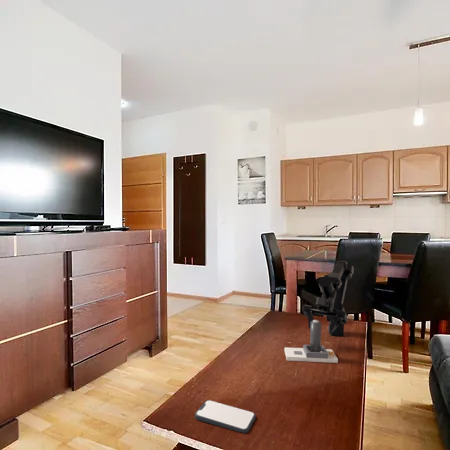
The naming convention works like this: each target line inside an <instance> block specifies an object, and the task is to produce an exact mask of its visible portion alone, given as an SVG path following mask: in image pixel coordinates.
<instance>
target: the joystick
mask: <svg viewBox="0 0 450 450" xmlns="http://www.w3.org/2000/svg"><path fill="white" fill-rule="evenodd" d="M309 330H310V331H309V333H310V336H309V338H310V339H309V345H310V352H321V345H322V322H321V321H319V320H318V319H313V321H311V326H310V329H309Z"/></svg>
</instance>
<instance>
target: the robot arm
mask: <svg viewBox="0 0 450 450" xmlns="http://www.w3.org/2000/svg"><path fill="white" fill-rule="evenodd" d="M354 272H355V269H354V266H353V265H352V264H350V263H348V262H347V261H345V260H337V261H336V262H335V266H334V267H333V269H332V270H331V272H330V273H328V274H324V276H322V277H320V278H319V280H317V281H318V282H317V284H318V286H319V288H320V292H321V293H322V295H321V297H319V296H318V297H316V301H315V305H316V308H317V309H314V307H313V305H310V304H309V305H308V304H304V305H303V306H302V309H301V311H302V312H303V315H304V316H306V318H307V321H308V329H309V330H310V326H311V321H313V320H315V319H314V316H315V315H319V316H325V317H326V322H329V323H328V328H327V330H328V331H327V332H328V334H329V335H330V336H331V337H345V336H346V335H345V334H344V333H345V330H344V329H345V325H347V324H348V314H347V312H346V311H345V308H344V305H343V304H344V300H345V295H346V290H347V285H348V281H349V280H351V279H352V278H353V275H354Z"/></svg>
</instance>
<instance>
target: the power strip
mask: <svg viewBox="0 0 450 450" xmlns="http://www.w3.org/2000/svg"><path fill="white" fill-rule="evenodd" d="M284 354H285V359H286V361H287V362H288V361H289V362H290V361H291V362H309V363H312V362H314V363H328V364H329V363H331V364H332V363H334V364H338V362H339V358H338V357H337V356H336V354H335V353H334V350H333V349H329V348H327V349H326V348H325V346H324V345H322V344H321V352H310V344H303V345H302V347H284Z"/></svg>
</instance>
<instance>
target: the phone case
mask: <svg viewBox="0 0 450 450" xmlns="http://www.w3.org/2000/svg"><path fill="white" fill-rule="evenodd" d="M256 416H257V415H256V413H255V412H253V411H251V410H250V411H249V410H247V409H244V408H243V409H242V408H239V407H235V406H232V405H229V404H224V403H222V402H217V401H215V400H212V399H211V400H210V399H208V400H205V401H204V402H203V404H202V405H201V406H200V407H199V408H198V410H196V412H195V413H194V418H195V420H196V421H200V422H203V423H206V424H210V425H214V426H217V427H220V428H223V429H226V430H227V429H228V430H231V431H233V430H234V432H238V433H240V432H242V433H241V434H246V433H248V432H250V429H251V427H252V426H253V423H254V422H255V420H256Z"/></svg>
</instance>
